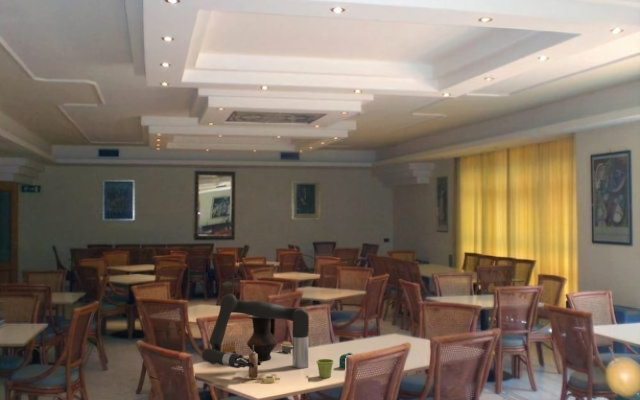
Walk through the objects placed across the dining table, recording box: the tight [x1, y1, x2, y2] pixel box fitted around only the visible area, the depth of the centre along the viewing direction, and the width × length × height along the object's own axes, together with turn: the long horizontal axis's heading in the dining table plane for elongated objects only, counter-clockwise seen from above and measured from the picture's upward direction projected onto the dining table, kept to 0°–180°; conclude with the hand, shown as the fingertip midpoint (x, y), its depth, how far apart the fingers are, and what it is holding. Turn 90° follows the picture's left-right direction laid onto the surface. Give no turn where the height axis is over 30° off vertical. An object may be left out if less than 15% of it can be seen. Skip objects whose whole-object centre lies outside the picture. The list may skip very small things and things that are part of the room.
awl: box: [248, 345, 259, 378], centre depth 339 cm, size 5×5×17 cm
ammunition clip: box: [221, 339, 237, 353], centre depth 386 cm, size 11×2×12 cm, turn 133°
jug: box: [246, 315, 279, 361], centre depth 392 cm, size 21×18×30 cm
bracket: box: [338, 352, 354, 369], centre depth 366 cm, size 18×7×8 cm, turn 55°
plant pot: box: [316, 358, 335, 379], centre depth 348 cm, size 9×9×9 cm
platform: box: [279, 341, 293, 354], centre depth 410 cm, size 12×18×7 cm, turn 47°
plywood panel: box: [239, 373, 282, 384], centre depth 340 cm, size 20×18×1 cm
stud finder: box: [263, 376, 275, 384], centre depth 335 cm, size 5×6×2 cm
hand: (257, 364), depth 338 cm, fingers closed on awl, 4 cm apart
